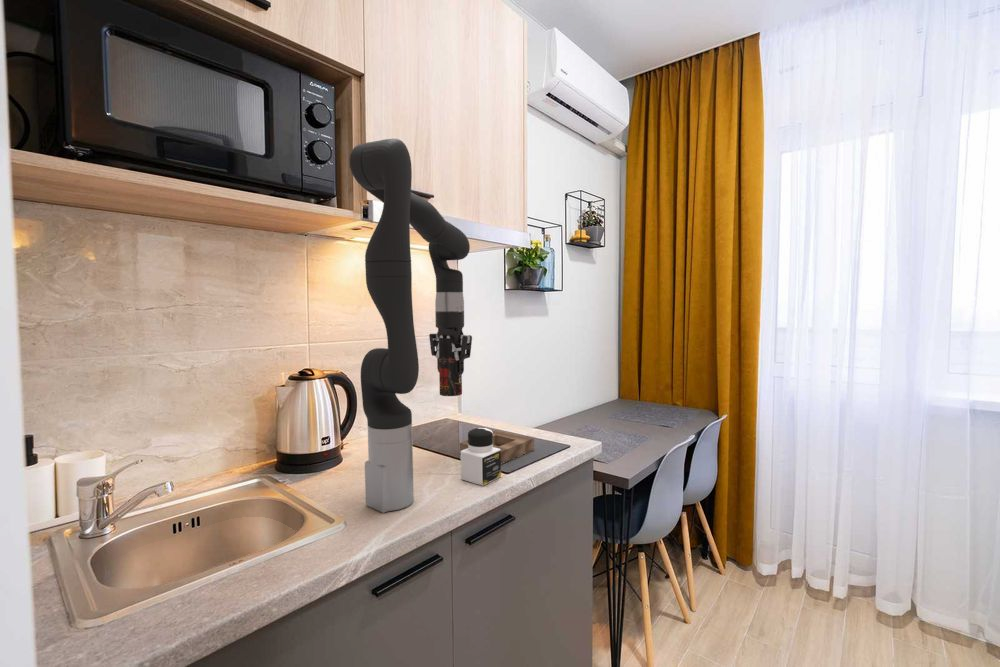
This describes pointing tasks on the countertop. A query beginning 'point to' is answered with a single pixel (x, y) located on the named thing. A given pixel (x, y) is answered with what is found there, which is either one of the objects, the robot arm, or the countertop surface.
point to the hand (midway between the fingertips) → (450, 373)
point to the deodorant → (448, 369)
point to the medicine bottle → (480, 458)
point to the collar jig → (508, 444)
